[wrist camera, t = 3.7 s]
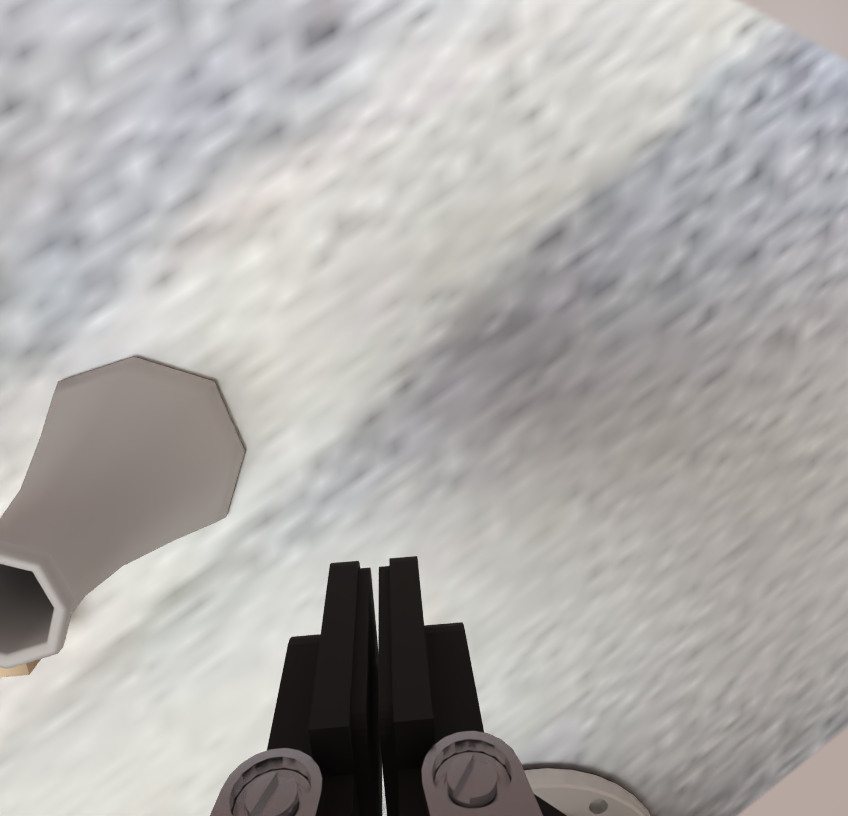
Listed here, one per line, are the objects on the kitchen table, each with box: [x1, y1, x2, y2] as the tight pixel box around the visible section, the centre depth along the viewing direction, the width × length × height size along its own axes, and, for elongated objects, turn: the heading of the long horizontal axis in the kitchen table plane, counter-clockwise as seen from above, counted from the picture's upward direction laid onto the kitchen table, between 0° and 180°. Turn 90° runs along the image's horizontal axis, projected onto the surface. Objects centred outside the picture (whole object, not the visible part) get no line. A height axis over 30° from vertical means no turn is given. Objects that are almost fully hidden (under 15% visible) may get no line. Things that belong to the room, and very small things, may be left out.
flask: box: [0, 357, 245, 669], centre depth 19 cm, size 7×7×10 cm
